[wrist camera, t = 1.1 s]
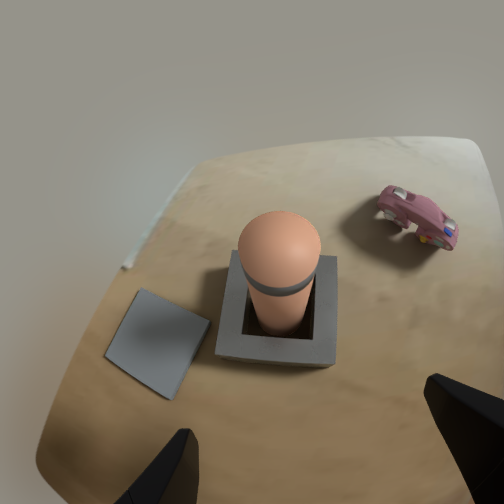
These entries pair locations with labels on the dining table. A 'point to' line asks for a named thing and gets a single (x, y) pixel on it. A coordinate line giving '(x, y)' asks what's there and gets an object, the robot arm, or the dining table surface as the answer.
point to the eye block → (279, 349)
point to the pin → (279, 268)
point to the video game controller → (419, 216)
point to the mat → (157, 342)
